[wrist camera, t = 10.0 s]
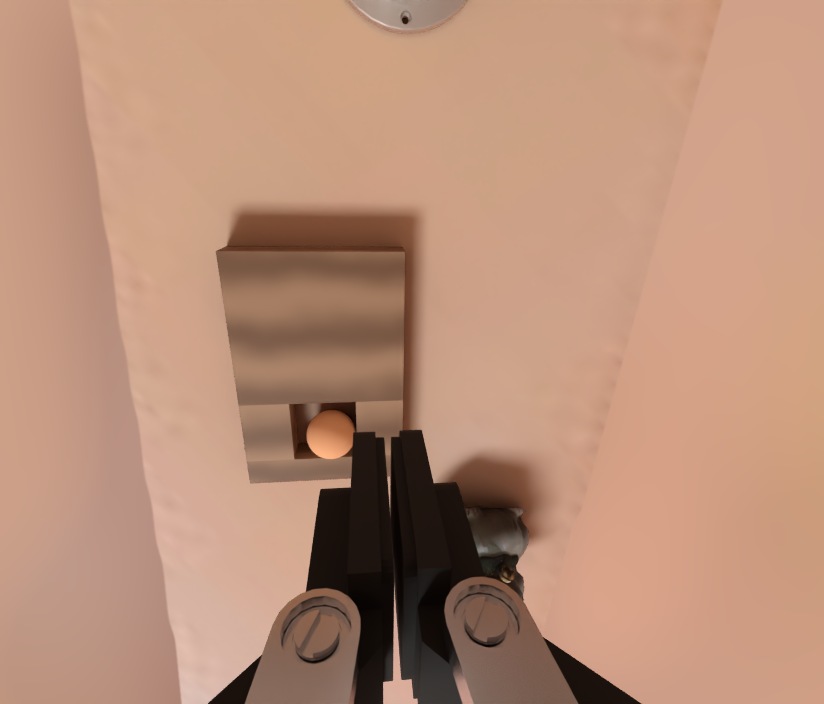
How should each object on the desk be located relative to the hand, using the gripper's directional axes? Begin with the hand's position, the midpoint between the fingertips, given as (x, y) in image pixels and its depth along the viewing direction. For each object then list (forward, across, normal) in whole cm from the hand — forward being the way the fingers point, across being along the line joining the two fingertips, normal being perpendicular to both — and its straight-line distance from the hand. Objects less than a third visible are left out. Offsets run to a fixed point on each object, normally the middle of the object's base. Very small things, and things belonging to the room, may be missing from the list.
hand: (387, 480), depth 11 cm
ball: (+30, +4, +18) cm, 35 cm away
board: (+32, +5, +12) cm, 35 cm away
